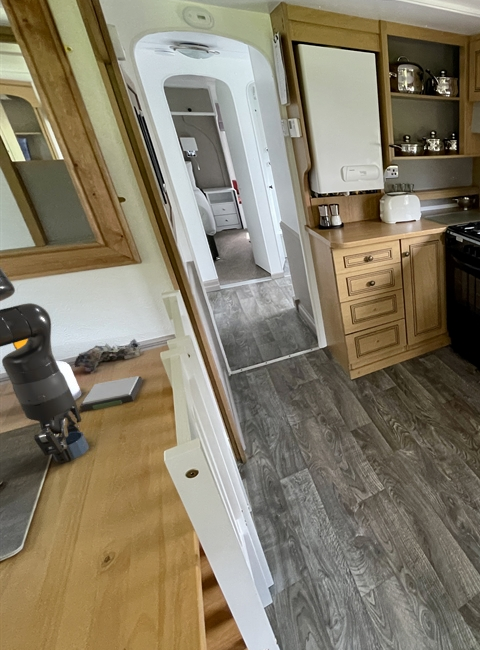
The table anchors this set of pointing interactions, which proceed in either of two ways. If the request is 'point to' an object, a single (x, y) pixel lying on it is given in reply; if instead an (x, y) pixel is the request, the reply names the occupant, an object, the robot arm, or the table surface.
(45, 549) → the table surface
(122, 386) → the scale
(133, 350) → the foil
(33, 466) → the table surface
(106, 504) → the table surface
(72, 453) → the bowl
